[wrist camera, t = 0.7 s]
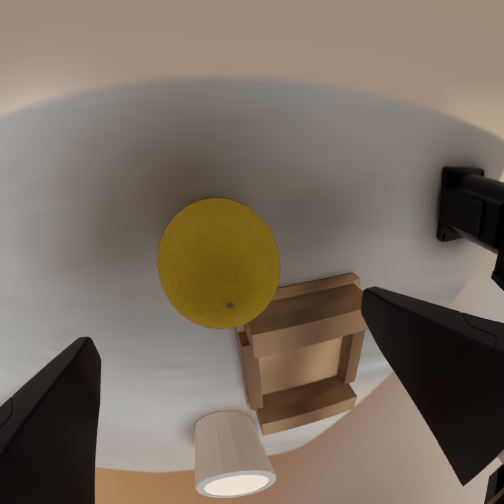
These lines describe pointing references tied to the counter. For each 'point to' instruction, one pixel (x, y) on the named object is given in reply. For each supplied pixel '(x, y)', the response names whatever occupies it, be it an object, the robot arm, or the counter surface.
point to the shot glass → (230, 456)
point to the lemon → (218, 263)
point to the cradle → (303, 353)
